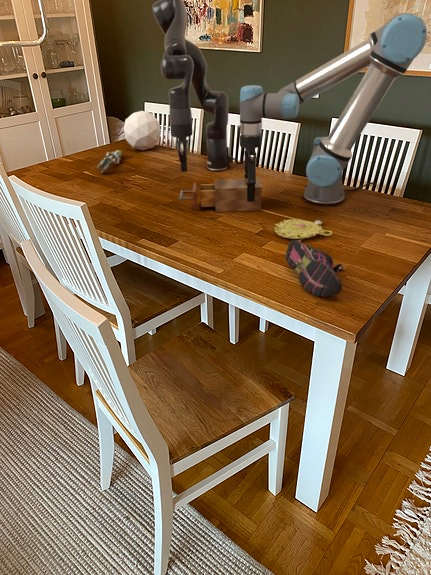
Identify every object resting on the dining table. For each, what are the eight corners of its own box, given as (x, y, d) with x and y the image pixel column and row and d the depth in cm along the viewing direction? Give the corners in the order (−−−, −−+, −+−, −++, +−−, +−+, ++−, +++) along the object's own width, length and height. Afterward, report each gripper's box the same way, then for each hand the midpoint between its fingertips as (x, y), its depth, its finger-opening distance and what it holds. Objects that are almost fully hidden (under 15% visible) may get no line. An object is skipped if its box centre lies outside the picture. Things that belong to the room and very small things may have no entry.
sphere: (136, 161, 242) (117, 128, 240) (167, 143, 245) (148, 111, 242) (135, 152, 224) (114, 116, 221) (169, 133, 226) (148, 97, 223)
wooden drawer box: (215, 211, 163) (215, 188, 158) (214, 201, 171) (214, 179, 167) (260, 210, 163) (261, 187, 158) (257, 200, 172) (258, 177, 167)
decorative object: (286, 211, 157) (342, 219, 147) (286, 217, 158) (341, 226, 148) (260, 233, 142) (319, 243, 133) (260, 240, 144) (319, 251, 134)
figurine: (101, 154, 197) (119, 141, 223) (91, 167, 200) (110, 152, 227) (114, 165, 199) (130, 151, 225) (103, 178, 203) (121, 162, 229)
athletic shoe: (328, 286, 106) (368, 278, 110) (289, 224, 118) (325, 219, 122) (312, 314, 115) (349, 305, 119) (276, 254, 127) (311, 248, 131)
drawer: (180, 209, 163) (178, 191, 159) (181, 200, 170) (179, 183, 167) (235, 208, 163) (235, 190, 159) (233, 199, 170) (233, 181, 167)
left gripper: (171, 117, 156) (174, 166, 165) (168, 125, 145) (172, 177, 154) (192, 116, 156) (194, 165, 165) (191, 125, 145) (194, 176, 154)
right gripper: (237, 127, 163) (237, 185, 175) (242, 143, 144) (241, 207, 156) (257, 126, 163) (256, 184, 175) (265, 142, 144) (263, 206, 156)
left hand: (184, 171), depth 160 cm, fingers closed
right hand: (249, 195), depth 165 cm, fingers closed on wooden drawer box, 10 cm apart
